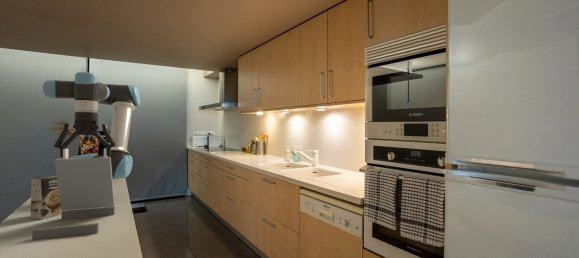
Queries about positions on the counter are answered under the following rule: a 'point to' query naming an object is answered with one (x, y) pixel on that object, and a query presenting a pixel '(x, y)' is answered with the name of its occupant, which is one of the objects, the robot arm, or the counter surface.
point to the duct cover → (85, 182)
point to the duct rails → (74, 229)
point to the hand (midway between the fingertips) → (86, 165)
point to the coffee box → (45, 197)
